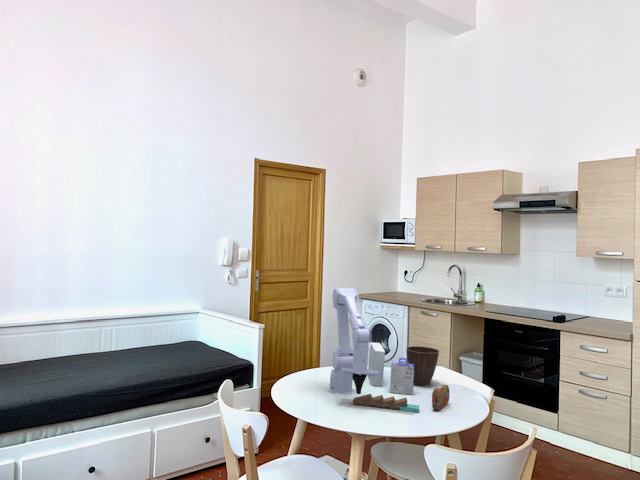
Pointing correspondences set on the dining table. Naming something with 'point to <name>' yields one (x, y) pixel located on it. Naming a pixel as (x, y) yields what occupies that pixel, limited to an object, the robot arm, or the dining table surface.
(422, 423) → the dining table surface
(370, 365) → the skincare box
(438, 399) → the tin
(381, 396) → the walnut tile
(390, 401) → the walnut tile
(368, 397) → the walnut tile
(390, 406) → the walnut tile
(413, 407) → the teal end tile
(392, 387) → the ink cartridge box
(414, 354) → the plant pot
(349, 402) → the mat
